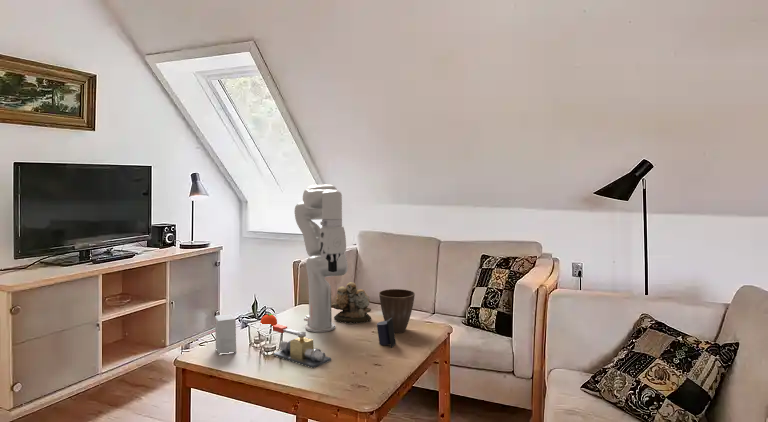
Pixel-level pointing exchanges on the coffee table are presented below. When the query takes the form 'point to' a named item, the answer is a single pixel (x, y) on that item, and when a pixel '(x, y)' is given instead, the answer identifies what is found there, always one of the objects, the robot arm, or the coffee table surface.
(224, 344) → the small box
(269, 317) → the clementine
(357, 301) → the owl figurine
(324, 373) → the coffee table surface
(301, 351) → the valve body
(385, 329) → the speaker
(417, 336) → the coffee table surface
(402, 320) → the plant pot
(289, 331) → the valve lever
